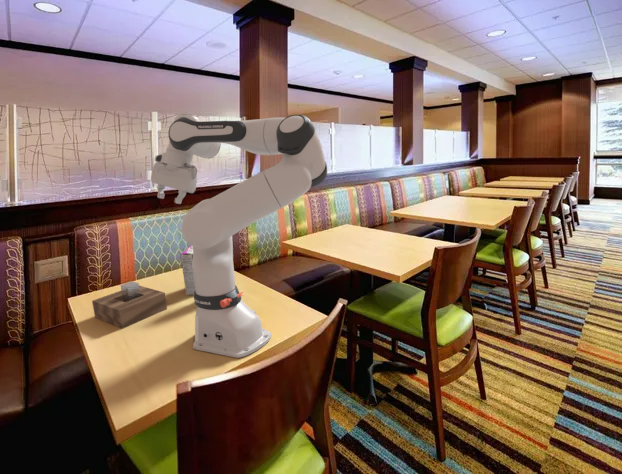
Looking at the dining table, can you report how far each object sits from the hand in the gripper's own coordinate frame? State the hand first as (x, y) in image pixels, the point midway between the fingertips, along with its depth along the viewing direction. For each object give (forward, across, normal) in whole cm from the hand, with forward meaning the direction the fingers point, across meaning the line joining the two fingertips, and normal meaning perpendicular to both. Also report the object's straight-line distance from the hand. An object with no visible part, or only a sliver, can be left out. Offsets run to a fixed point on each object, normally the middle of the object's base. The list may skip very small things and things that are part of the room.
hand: (168, 200), depth 127 cm
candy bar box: (+32, -4, -18) cm, 37 cm away
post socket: (+40, -2, +6) cm, 40 cm away
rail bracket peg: (+39, -1, +4) cm, 40 cm away
